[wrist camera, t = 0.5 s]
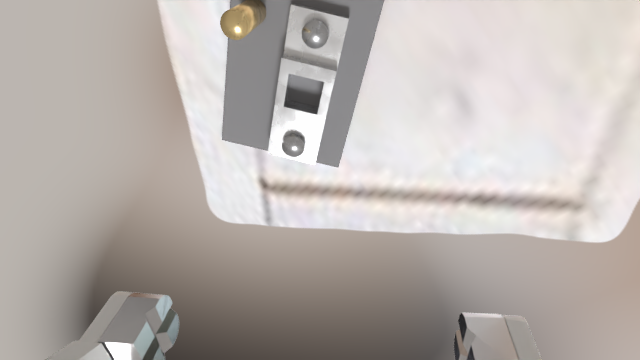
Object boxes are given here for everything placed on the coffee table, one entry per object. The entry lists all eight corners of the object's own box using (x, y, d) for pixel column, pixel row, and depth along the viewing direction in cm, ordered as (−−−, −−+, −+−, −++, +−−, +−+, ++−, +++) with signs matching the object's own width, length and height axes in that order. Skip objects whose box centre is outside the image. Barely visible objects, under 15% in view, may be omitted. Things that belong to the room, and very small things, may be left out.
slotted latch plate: (292, 2, 45) (287, 7, 43) (349, 16, 45) (347, 22, 43) (271, 145, 56) (266, 156, 54) (316, 156, 56) (314, 167, 54)
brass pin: (243, -5, 45) (221, 6, 39) (267, 1, 45) (249, 13, 39) (241, 21, 47) (219, 36, 40) (264, 27, 47) (246, 42, 40)
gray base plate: (234, -41, 44) (233, -41, 43) (385, -4, 44) (385, -4, 44) (223, 138, 57) (222, 139, 57) (338, 165, 58) (338, 167, 57)
